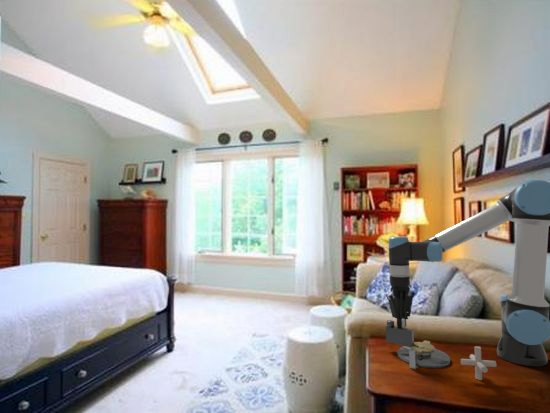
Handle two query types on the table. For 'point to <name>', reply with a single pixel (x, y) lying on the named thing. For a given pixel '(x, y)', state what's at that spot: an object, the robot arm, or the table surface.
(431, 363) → the post plate
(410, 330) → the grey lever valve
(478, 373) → the pipe connector
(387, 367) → the table surface
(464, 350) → the table surface
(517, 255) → the robot arm
